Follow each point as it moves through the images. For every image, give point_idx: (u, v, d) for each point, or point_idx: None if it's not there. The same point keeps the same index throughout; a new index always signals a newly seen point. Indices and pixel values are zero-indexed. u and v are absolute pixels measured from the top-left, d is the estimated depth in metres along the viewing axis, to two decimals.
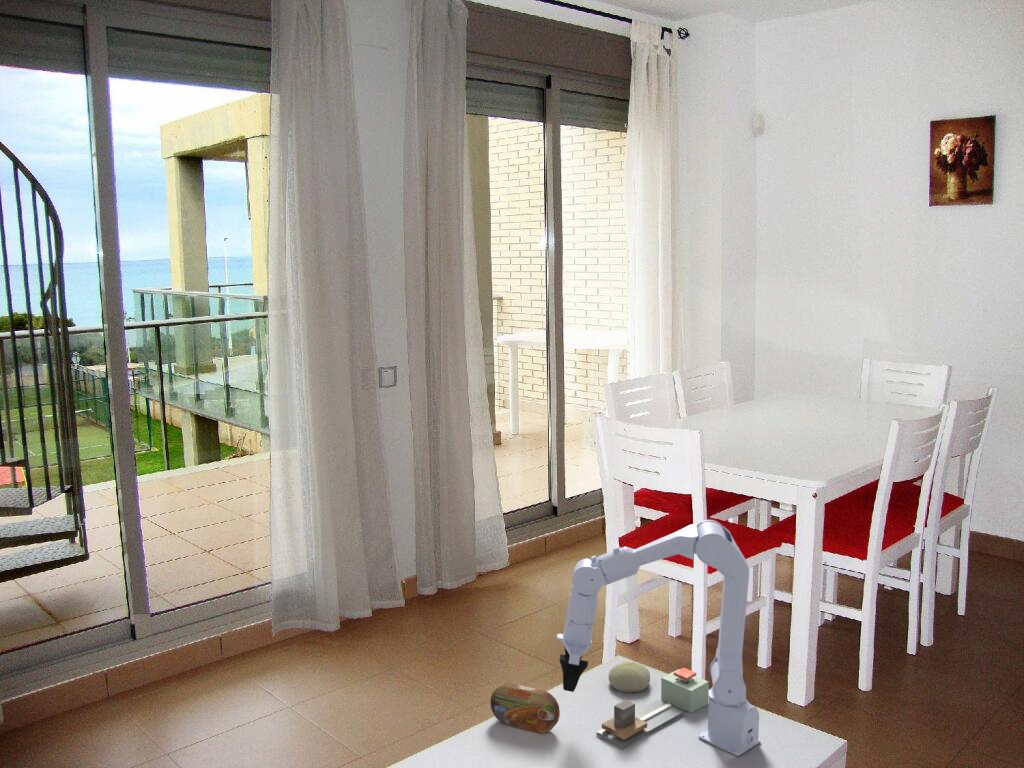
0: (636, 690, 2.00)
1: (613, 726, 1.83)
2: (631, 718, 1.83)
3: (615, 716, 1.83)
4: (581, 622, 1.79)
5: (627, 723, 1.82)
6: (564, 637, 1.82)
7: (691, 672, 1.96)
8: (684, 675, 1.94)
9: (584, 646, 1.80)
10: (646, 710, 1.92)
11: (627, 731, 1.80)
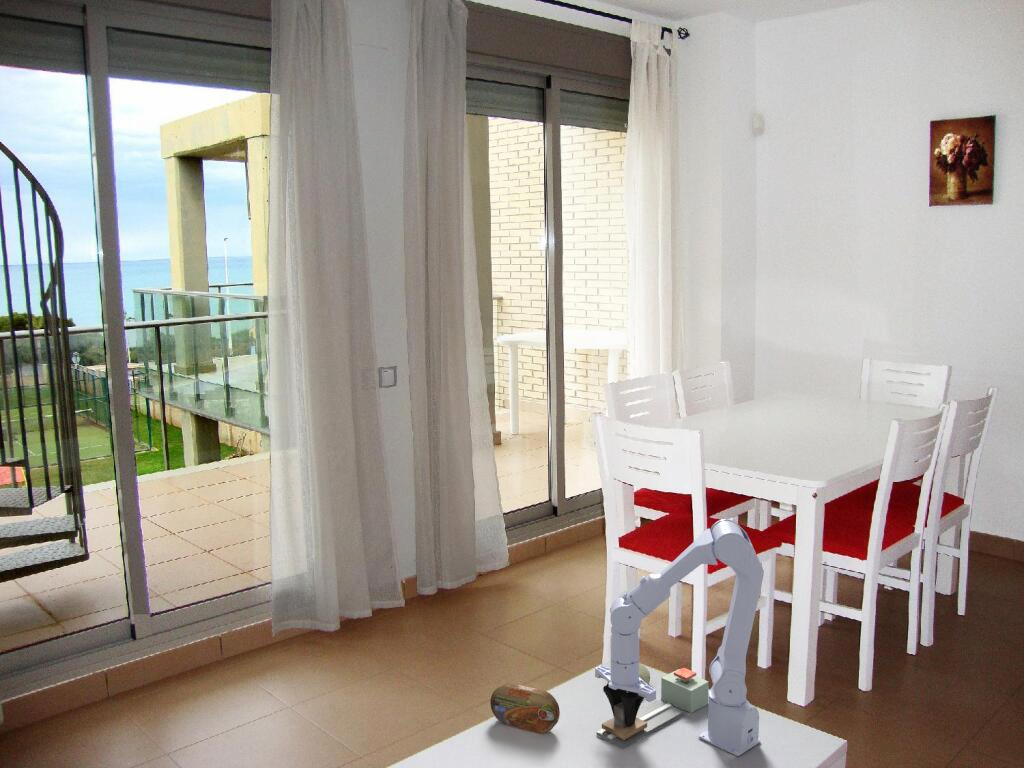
0: None
1: (613, 726, 1.83)
2: None
3: (615, 716, 1.83)
4: (626, 662, 1.79)
5: None
6: (621, 683, 1.80)
7: (691, 672, 1.96)
8: (684, 675, 1.94)
9: (639, 680, 1.81)
10: (646, 710, 1.92)
11: (627, 731, 1.80)
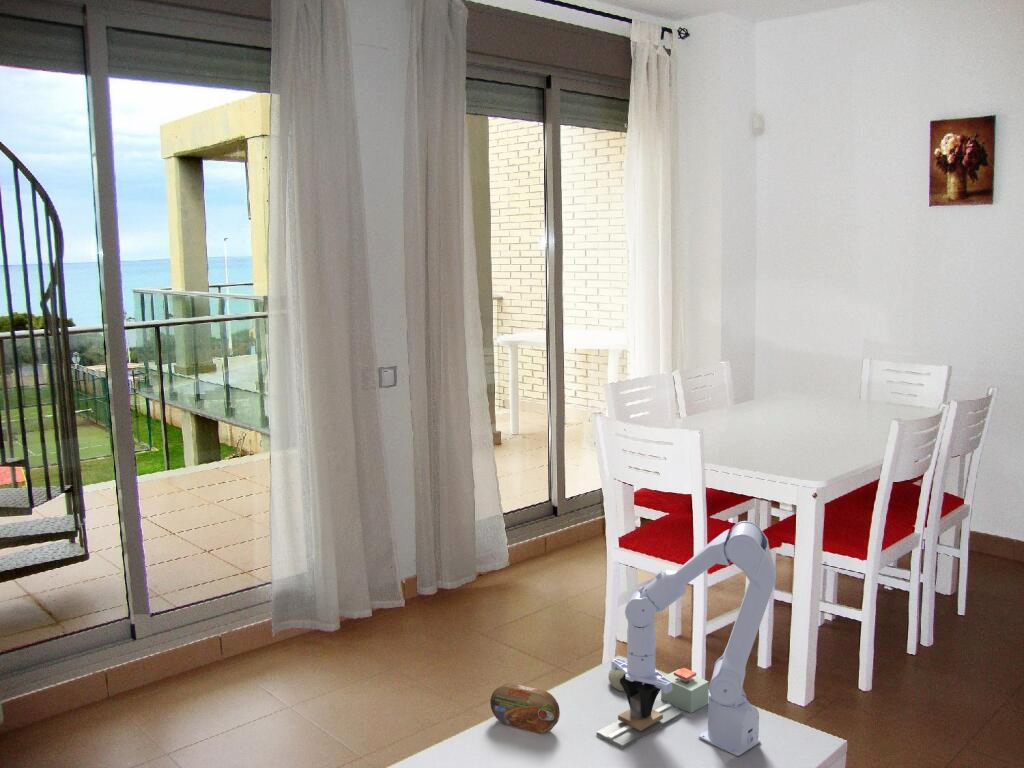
0: None
1: (630, 717, 1.86)
2: None
3: (631, 708, 1.86)
4: (640, 654, 1.82)
5: None
6: (638, 674, 1.83)
7: (691, 672, 1.96)
8: (684, 675, 1.94)
9: (655, 672, 1.85)
10: None
11: (643, 722, 1.84)
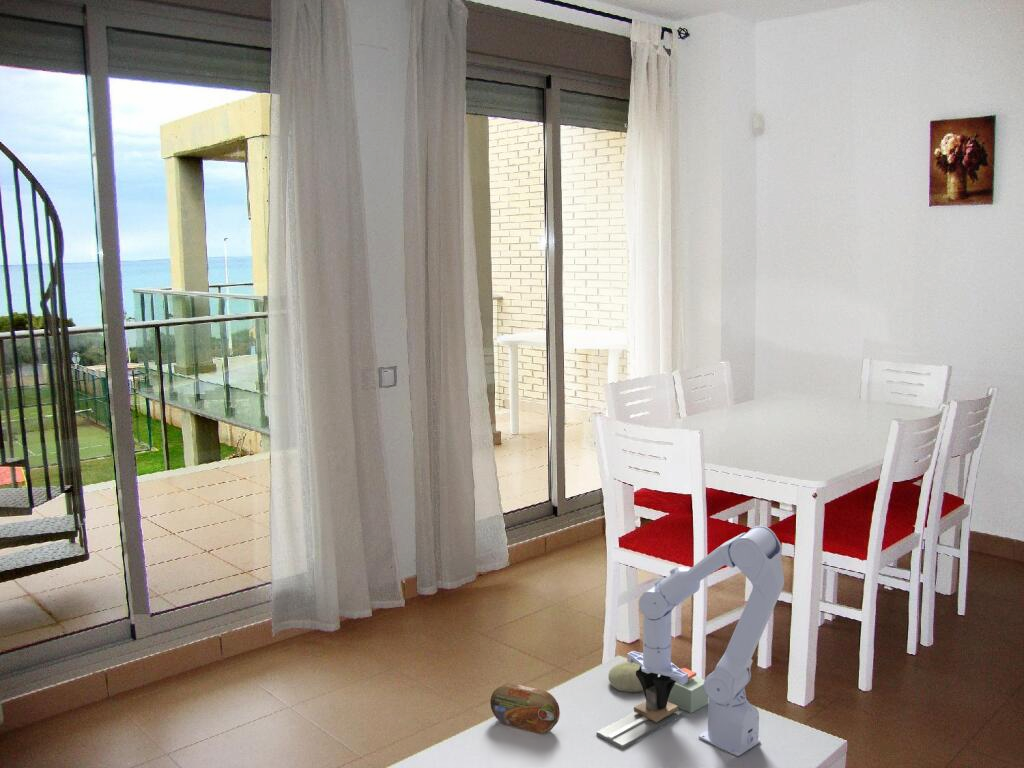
0: (636, 690, 2.00)
1: (645, 709, 1.89)
2: None
3: (647, 699, 1.89)
4: (652, 646, 1.86)
5: None
6: (654, 667, 1.86)
7: (691, 672, 1.96)
8: None
9: (671, 665, 1.88)
10: None
11: (659, 714, 1.87)
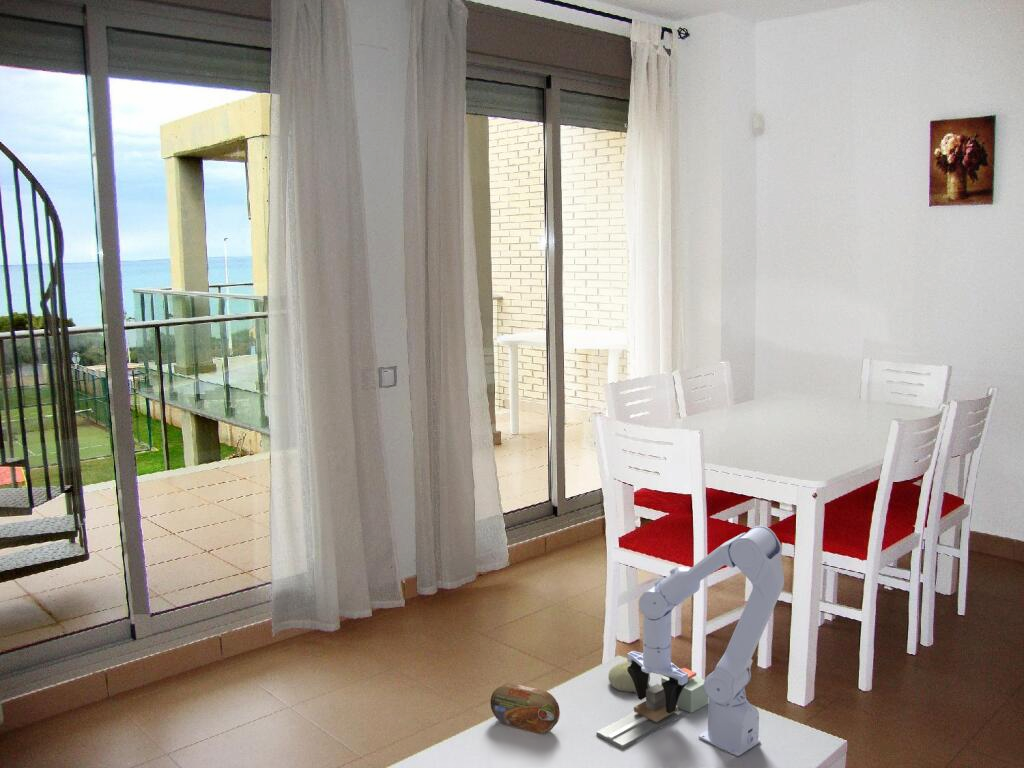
0: None
1: (645, 709, 1.89)
2: (662, 702, 1.90)
3: (647, 699, 1.89)
4: (652, 646, 1.86)
5: (659, 706, 1.89)
6: (654, 667, 1.86)
7: (691, 672, 1.96)
8: None
9: (671, 665, 1.88)
10: None
11: (659, 714, 1.87)
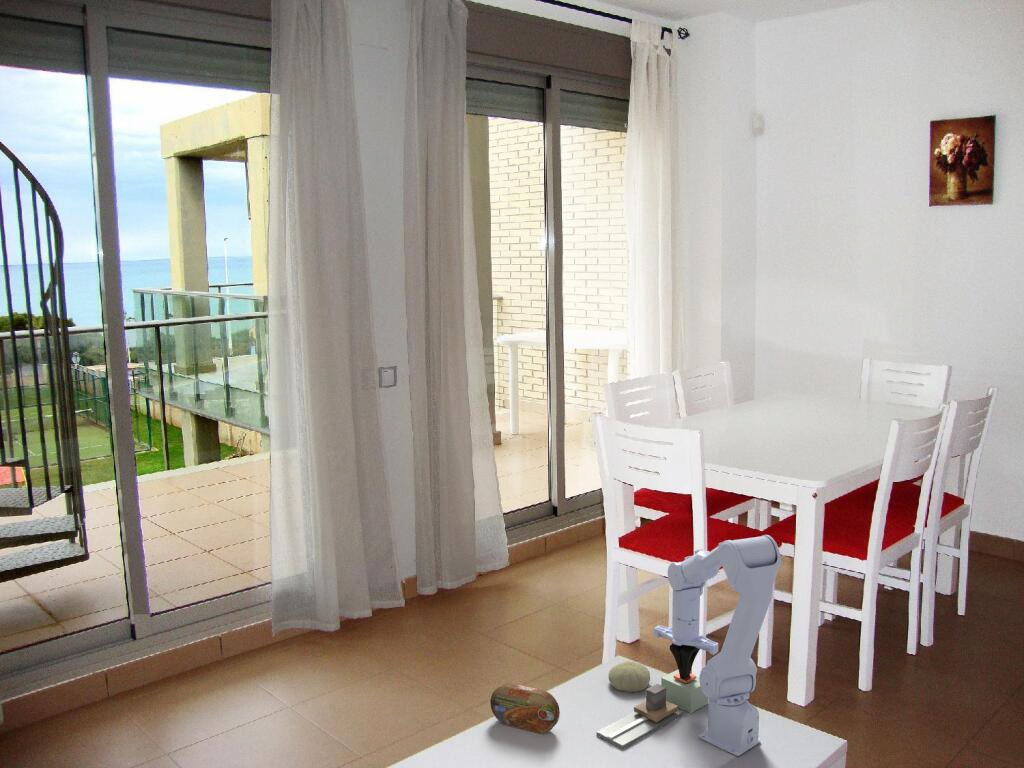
0: (636, 690, 2.00)
1: (645, 709, 1.89)
2: (662, 702, 1.90)
3: (647, 699, 1.89)
4: (675, 616, 1.92)
5: (659, 706, 1.89)
6: (685, 639, 1.92)
7: (691, 675, 1.96)
8: (684, 678, 1.95)
9: (699, 636, 1.94)
10: None
11: (659, 714, 1.87)
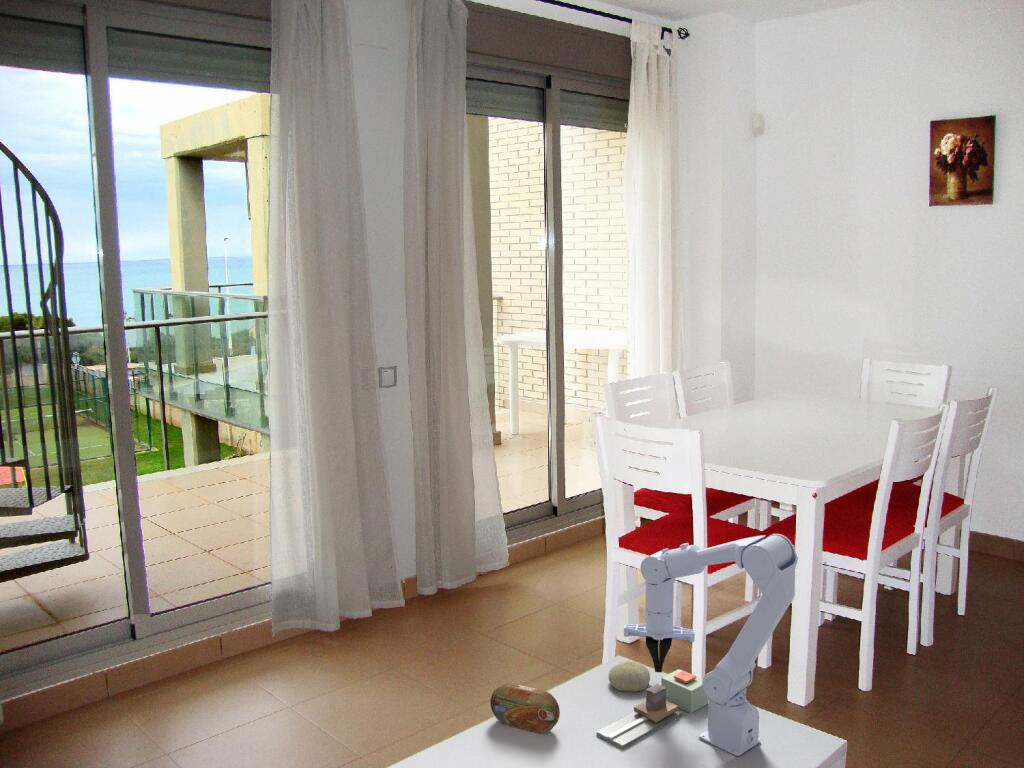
0: (636, 690, 2.00)
1: (645, 709, 1.89)
2: (662, 702, 1.90)
3: (647, 699, 1.89)
4: (653, 610, 1.87)
5: (659, 706, 1.89)
6: (664, 632, 1.87)
7: (691, 675, 1.96)
8: (684, 678, 1.95)
9: None
10: None
11: (659, 714, 1.87)
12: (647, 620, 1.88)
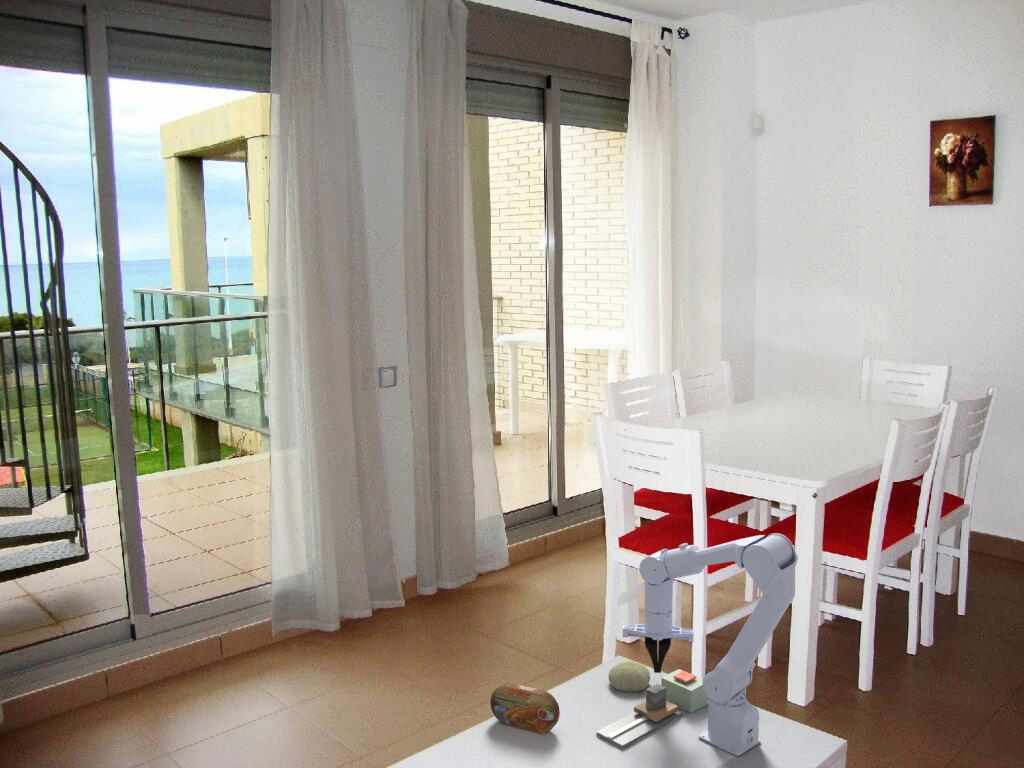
0: (636, 690, 2.00)
1: (645, 709, 1.89)
2: (662, 702, 1.90)
3: (647, 699, 1.89)
4: (652, 611, 1.86)
5: (659, 706, 1.89)
6: (664, 632, 1.87)
7: (691, 675, 1.96)
8: (684, 678, 1.95)
9: None
10: None
11: (659, 714, 1.87)
12: (646, 620, 1.88)
